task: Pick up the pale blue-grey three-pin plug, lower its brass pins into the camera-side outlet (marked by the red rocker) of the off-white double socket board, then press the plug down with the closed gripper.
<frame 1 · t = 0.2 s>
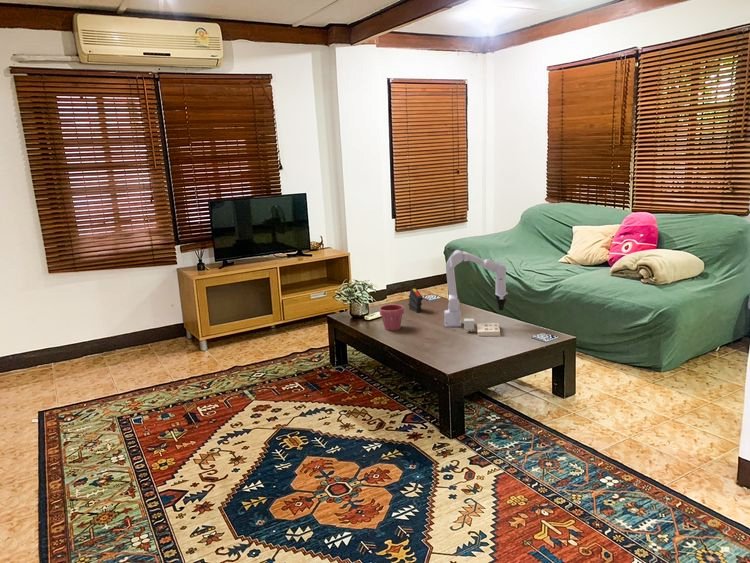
hand: (500, 308, 326), 10 cm above the table, tool pointing down, fingers open, 7 cm apart
plant pot: (392, 328, 333), on the table
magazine: (416, 311, 366), on the table
plug: (469, 331, 320), on the table
socket board: (488, 331, 318), on the table
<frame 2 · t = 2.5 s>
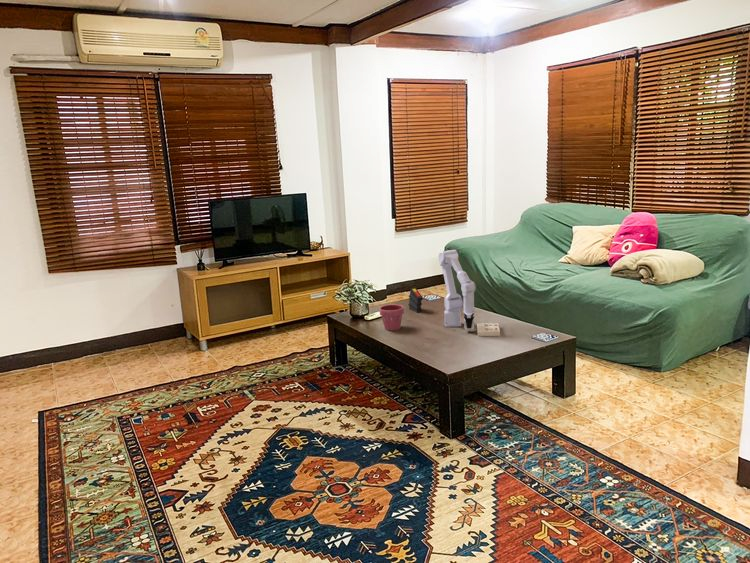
hand: (469, 326, 319), 3 cm above the table, tool pointing down, fingers closed on plug, 4 cm apart
plug: (469, 331, 320), on the table, touching gripper
everything else where it was.
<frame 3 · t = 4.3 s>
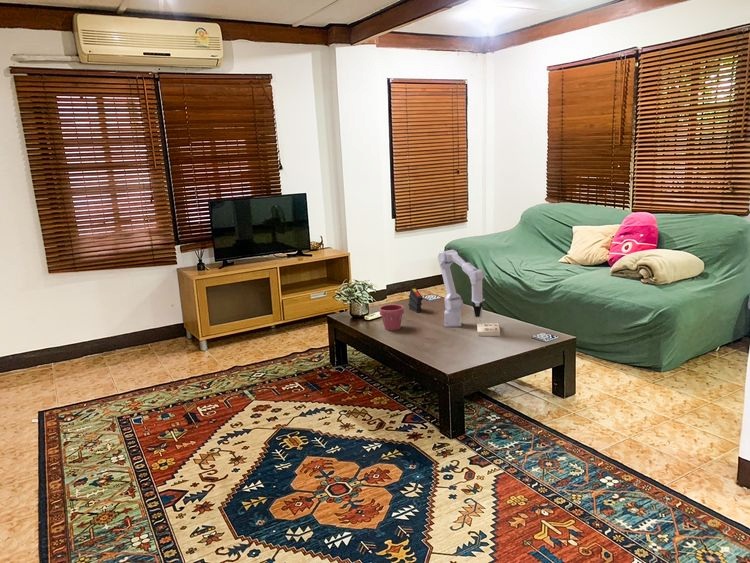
hand: (477, 315, 315), 10 cm above the table, tool pointing down, fingers closed on plug, 4 cm apart
plug: (477, 320, 316), point 7 cm above the table, touching gripper
everything else where it was.
when the fingers open (4 cm above the table, at t = 6.4 s): plug stays where it is, resting on socket board.
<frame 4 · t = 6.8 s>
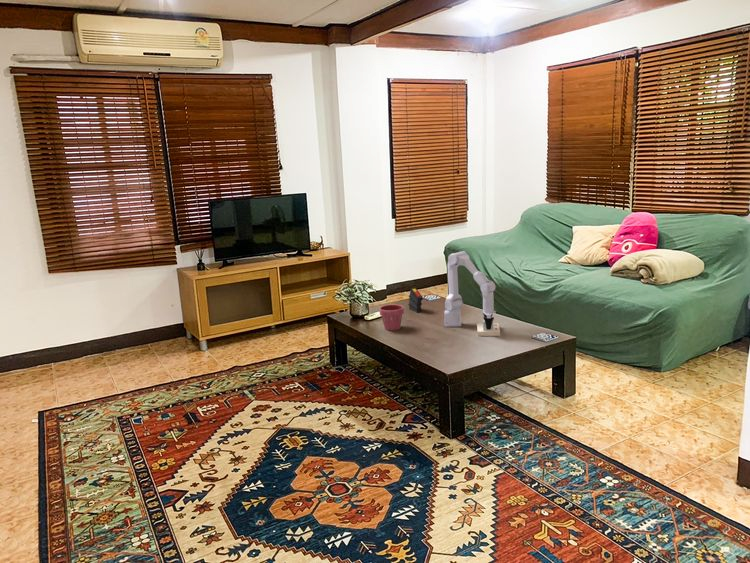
hand: (488, 327, 314), 4 cm above the table, tool pointing down, fingers open, 7 cm apart
plug: (488, 332, 315), resting on socket board
everything else where it was.
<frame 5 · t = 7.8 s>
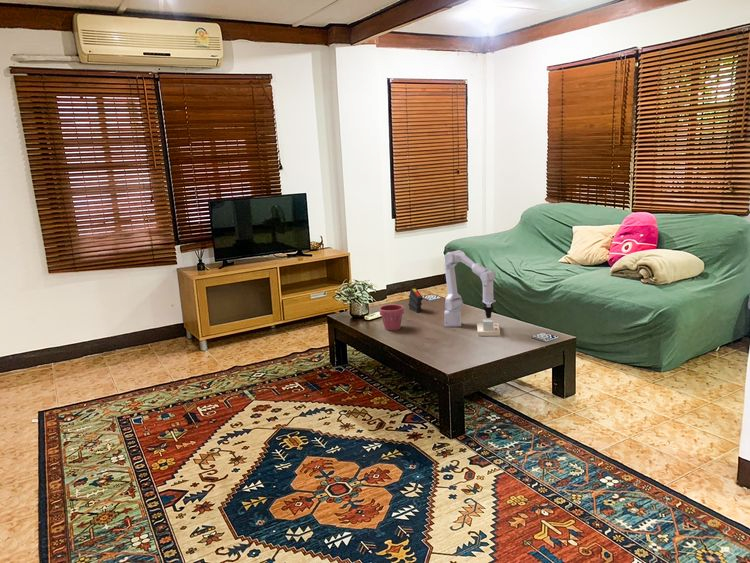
hand: (488, 316, 312), 10 cm above the table, tool pointing down, fingers open, 5 cm apart
nothing on the table moved.
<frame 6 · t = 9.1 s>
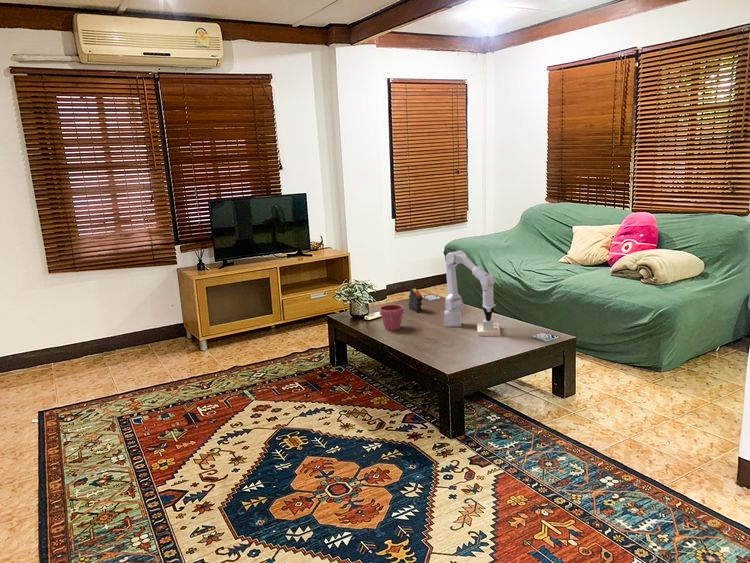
hand: (488, 320, 313), 7 cm above the table, tool pointing down, fingers closed, pressing on plug
plug: (488, 332, 315), resting on socket board, touching gripper
everything else where it was.
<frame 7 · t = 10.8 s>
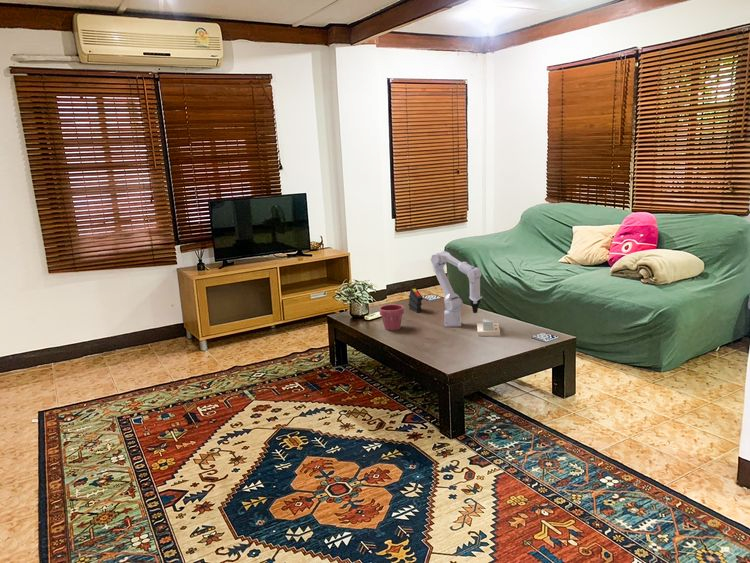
hand: (475, 312, 321), 10 cm above the table, tool pointing down, fingers closed
plug: (488, 332, 315), resting on socket board
everything else where it was.
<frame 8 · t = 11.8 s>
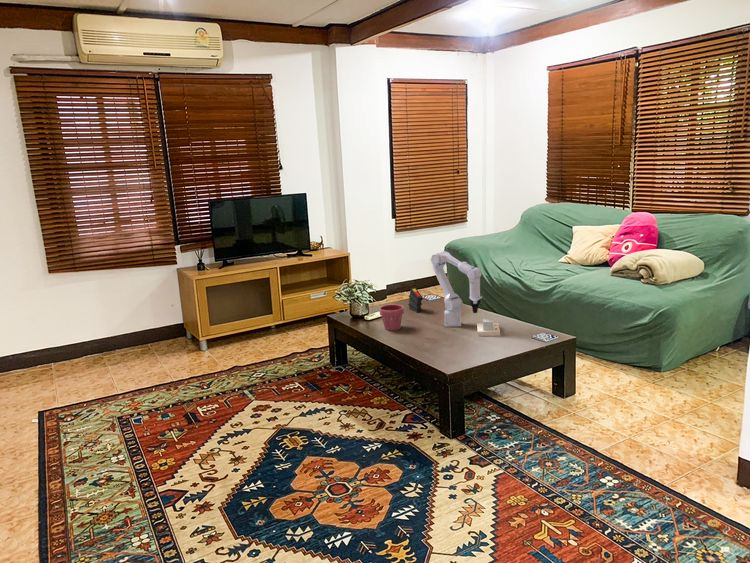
hand: (475, 312, 321), 10 cm above the table, tool pointing down, fingers closed
nothing on the table moved.
at the end: plug 0.1 cm from the target spot on the socket board, point 0.5 cm above the socket board's base; plug tilted 0°; the gripper is holding nothing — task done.
